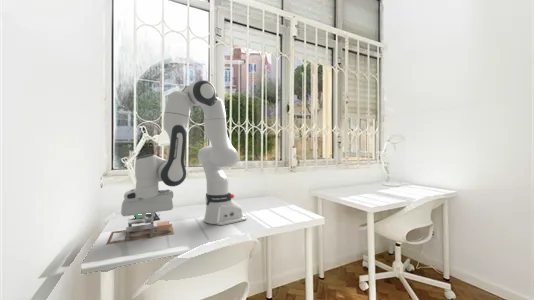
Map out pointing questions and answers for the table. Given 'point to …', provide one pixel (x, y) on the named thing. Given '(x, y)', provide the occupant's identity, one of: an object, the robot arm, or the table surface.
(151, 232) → the brown wooden flat frame
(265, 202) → the table surface
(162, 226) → the block
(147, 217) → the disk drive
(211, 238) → the table surface
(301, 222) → the table surface
